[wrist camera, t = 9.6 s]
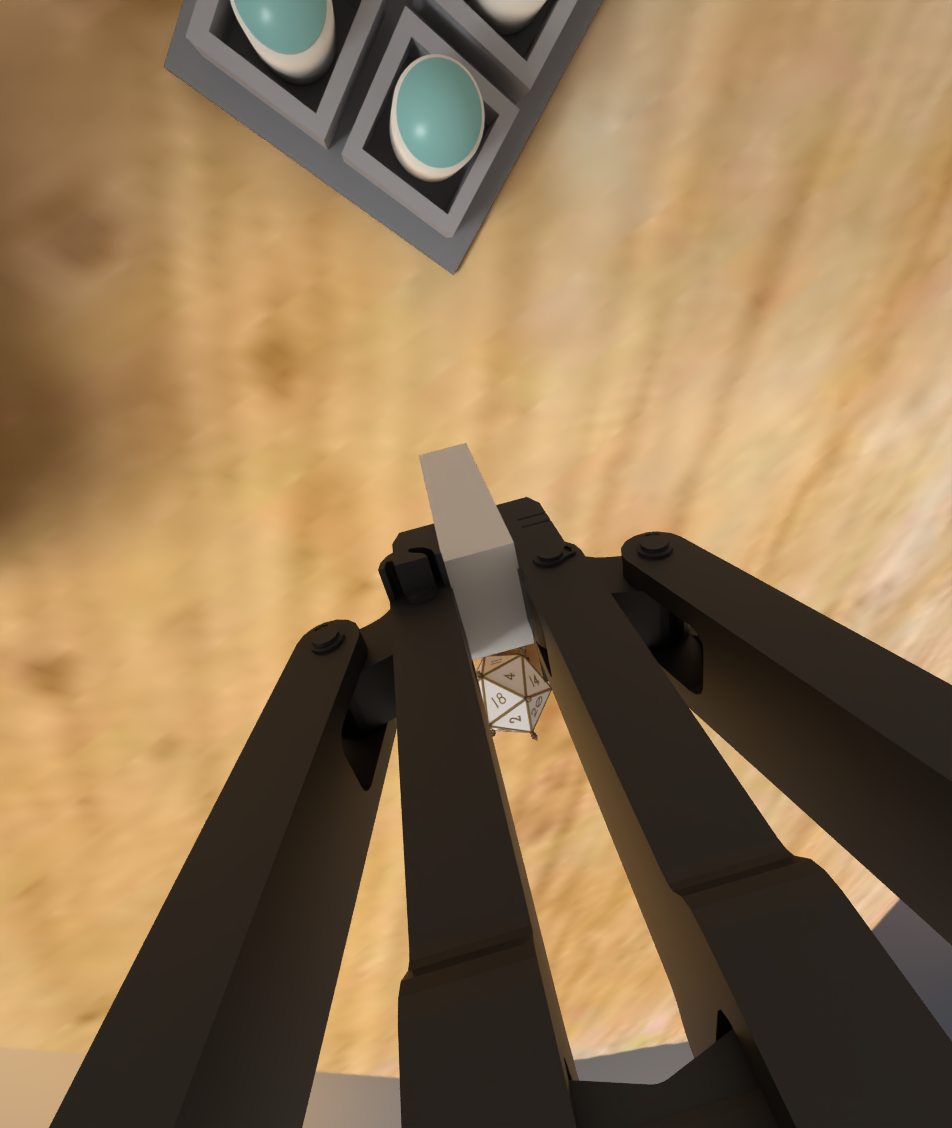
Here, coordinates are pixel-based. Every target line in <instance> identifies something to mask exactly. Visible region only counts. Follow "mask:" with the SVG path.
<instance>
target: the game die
mask: <svg viewBox="0 0 952 1128" xmlns="http://www.w3.org/2000/svg"><path fill="white" fill-rule="evenodd" d="M525 652H526V647H525V646H524V647H523V648H521V651H520V654H507V655H490V656H486V657H483V659H482V661H481V663H480V665H479V667H478V669H477V671H476V674H477V678H478V682H479V686H480V690H481V694H482V698H483V702H484V706H485V710H486V714H487V718H488V722H489V726H490V729H492V730H491V734H492V737H493V736H495V733H496V732H495V731H505V732H522V733H531V737H532V739H534V740H536V741H538V740H537V735H536V733H534V728H535V726H536V724H537V722H538V719H539V717H540V715H541V713H542V710H543V708H544V706H545V704H546V702H547V699H548V697H549V695H550V693H551V690H552V688H551V686H550V684H549V683H548V682H544V679H543V676H542V675H541V674H540V673H539V672H538V671H537V670H536V669H535V667H534V666H533V665H532V664H531V663H530V661H529V658H526V657H525V656H524V654H525Z"/></svg>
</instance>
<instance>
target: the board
mask: <svg viewBox="0 0 952 1128" xmlns="http://www.w3.org/2000/svg"><path fill="white" fill-rule="evenodd" d="M602 1H603V0H547V1H546V2H545V3H544V5H543V6H542V8H541V9H540V11H539V12H538V13H537V15H536V16H535V18H534V19H533V20H532V22H531V23H530V24H529V25H528V26H527V27H525V28H524V29H523V30H521V31H519V32H518V33H515V34H511V35H500V34H497V33H496V32H495V31H494V30H493V29H492V28H491V27H490V26H489V25H488V24H487V23H486V22H485V21H484V20H483V19H482V18H481V17H480V16H479V15H478V14H477V13H476V12H475V11H474V10H472V9H471V8H470V6H469V4H468V1H467V0H332V6H333V12H334V18H335V24H336V32H337V44H336V51H335V56H334V59H333V61H332V64H331V66H330V67H329V69H328V70H327V72H326V73H325V74H324V75H323V76H322V77H321V78H320V79H318V80H317V81H315V82H313V83H310V84H304V85H297V84H292V83H289V82H286V81H284V80H282V79H280V78H279V77H277V76H276V75H275V74H273V73H272V72H271V71H270V70H269V69H268V68H267V67H266V66H265V64H264V63H263V62H262V60H261V59H260V57H259V56H258V54H257V52H256V51H255V49H254V47H253V46H252V44H251V42H250V41H249V39H248V37H247V36H246V34H245V32H244V30H243V29H242V27H241V25H240V24H239V22H238V20H237V18H236V16H235V13H234V11H233V8H232V5H231V2H230V0H184V1H183V5H182V8H181V11H180V15H179V18H178V21H177V24H176V28H175V31H174V34H173V38H172V41H171V44H170V47H169V51H168V54H167V57H166V61H165V64H164V67H165V68H166V69H167V70H169V71H170V72H171V73H173V74H174V75H176V76H177V77H178V78H180V79H181V80H183V81H184V82H185V83H187V84H188V85H190V86H191V87H192V88H194V89H195V90H196V91H198V92H199V93H201V94H202V95H203V96H205V97H206V98H208V99H209V100H210V101H212V102H213V103H215V104H216V105H217V106H219V107H220V108H222V109H223V110H224V111H226V112H227V113H229V114H230V115H231V116H233V117H234V118H236V119H237V120H238V121H240V122H241V123H242V124H244V125H245V126H247V127H248V128H249V129H251V130H252V131H254V132H255V133H256V134H258V135H259V136H261V137H262V138H263V139H265V140H266V141H268V142H269V143H270V144H272V145H273V146H275V147H276V148H277V149H279V150H280V151H282V152H283V153H284V154H286V155H287V156H288V157H290V158H291V159H293V160H294V161H295V162H297V163H298V164H300V165H301V166H302V167H304V168H305V169H307V170H308V171H309V172H311V173H312V174H314V175H315V176H316V177H318V178H319V179H321V180H322V181H323V182H325V183H326V184H327V185H329V186H330V187H332V188H333V189H334V190H336V191H337V192H339V193H340V194H341V195H343V196H344V197H346V198H347V199H348V200H350V201H351V202H353V203H354V204H355V205H357V206H358V207H360V208H361V209H362V210H364V211H365V212H367V213H368V214H369V215H371V216H372V217H373V218H375V219H376V220H378V221H379V222H380V223H382V224H383V225H385V226H386V227H387V228H389V229H390V230H392V231H393V232H394V233H396V234H397V235H399V236H400V237H401V238H403V239H404V240H406V241H407V242H408V243H410V244H411V245H413V246H414V247H415V248H417V249H418V250H419V251H421V252H422V253H424V254H425V255H426V256H428V257H429V258H431V259H432V260H433V261H435V262H436V263H438V264H439V265H440V266H442V267H443V268H445V269H446V270H447V271H449V272H450V273H452V274H453V275H454V274H455V272H456V270H457V268H458V266H459V264H460V262H461V261H462V259H463V257H464V255H465V253H466V251H467V250H468V248H469V246H470V244H471V242H472V240H473V239H474V237H475V235H476V233H477V231H478V229H479V227H480V226H481V224H482V222H483V220H484V218H485V216H486V215H487V213H488V211H489V209H490V207H491V205H492V204H493V202H494V200H495V198H496V196H497V194H498V192H499V191H500V189H501V187H502V185H503V183H504V181H505V180H506V178H507V176H508V174H509V172H510V170H511V169H512V167H513V165H514V163H515V161H516V159H517V157H518V156H519V154H520V152H521V150H522V148H523V146H524V145H525V143H526V141H527V139H528V137H529V135H530V133H531V132H532V130H533V128H534V126H535V124H536V122H537V121H538V119H539V117H540V115H541V113H542V111H543V110H544V108H545V106H546V104H547V102H548V100H549V98H550V97H551V95H552V93H553V91H554V89H555V87H556V86H557V84H558V82H559V80H560V78H561V76H562V75H563V73H564V71H565V69H566V67H567V65H568V63H569V62H570V60H571V58H572V56H573V54H574V52H575V51H576V49H577V47H578V45H579V43H580V41H581V40H582V38H583V36H584V34H585V32H586V30H587V28H588V27H589V25H590V23H591V21H592V19H593V17H594V16H595V14H596V12H597V10H598V8H599V6H600V4H601V3H602ZM430 54H441V55H446V56H448V57H451V58H453V59H455V60H457V61H458V62H459V63H461V64H462V65H463V66H464V67H465V68H466V69H467V70H468V71H469V72H470V74H471V75H472V76H473V78H474V80H475V81H476V83H477V85H478V88H479V90H480V93H481V96H482V100H483V104H484V113H485V121H484V130H483V135H482V138H481V142H480V144H479V146H478V149H477V150H476V152H475V154H474V155H473V156H472V158H471V159H470V160H469V161H468V162H467V163H466V164H465V165H464V166H463V167H462V168H461V169H459V170H458V171H457V172H456V173H455V174H454V175H452V176H451V177H450V178H448V179H446V180H443V181H440V182H425V181H422V180H419V179H417V178H415V177H414V176H412V175H411V174H409V173H408V172H407V171H406V170H405V169H404V168H403V166H402V165H401V164H400V162H399V161H398V159H397V157H396V155H395V153H394V150H393V148H392V144H391V139H390V131H389V124H390V115H391V108H392V101H393V95H394V91H395V87H396V85H397V82H398V80H399V78H400V76H401V74H402V73H403V72H404V70H405V69H406V68H407V67H408V66H409V65H410V64H411V63H412V62H413V61H415V60H416V59H418V58H420V57H422V56H425V55H430Z"/></svg>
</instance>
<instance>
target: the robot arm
mask: <svg viewBox="0 0 952 1128" xmlns="http://www.w3.org/2000/svg"><path fill="white" fill-rule="evenodd" d="M419 458H420V463H421V467H422V472H423V476H424V481H425V485H426V490H427V494H428V498H429V503H430V507H431V512H432V516H433V521H434V524H431V525H427V526H423V527H420V528H416V529H412V530H409V531H405V532H401V533H399V534H398V536H397V538H396V539H395V541H394V542H393V544H392V546H393V553H391V554H390V555H388V556H387V557H386V558H385V559H384V560H383V561H382V562H381V563H380V566H379V569H378V571H379V574H380V577H381V579H382V582H383V585H384V587H385V590H386V593H387V595H388V598H389V601H390V610H389V611H388V612H387V613H386V614H385V615H384V616H382V617H381V618H380V619H378V620H377V621H375V622H373V623H371V624H369V625H367V626H365V627H363V628H361V629H359V628H358V626H357V625H356V623H354V622H352V621H349V620H334V621H330V622H325V623H323V624H321V625H318V626H316V627H315V628H313V629H312V630H310V631H309V632H308V633H306V634H305V635H304V636H303V637H302V638H301V640H300V641H299V642H298V644H297V645H296V647H295V649H294V651H293V653H292V655H291V657H290V659H289V661H288V662H287V664H286V666H285V668H284V670H283V672H282V674H281V676H280V678H279V680H278V682H277V684H276V686H275V688H274V690H273V692H272V694H271V696H270V698H269V700H268V702H267V703H266V705H265V707H264V709H263V711H262V713H261V715H260V717H259V719H258V721H257V723H256V725H255V727H254V729H253V731H252V733H251V735H250V737H249V739H248V741H247V742H246V744H245V746H244V748H243V750H242V752H241V754H240V756H239V758H238V760H237V762H236V764H235V766H234V768H233V770H232V772H231V774H230V776H229V778H228V780H227V781H226V783H225V785H224V787H223V789H222V791H221V793H220V795H219V797H218V799H217V801H216V803H215V805H214V807H213V809H212V811H211V813H210V815H209V817H208V819H207V820H206V822H205V824H204V826H203V828H202V830H201V832H200V834H199V836H198V838H197V840H196V842H195V844H194V846H193V848H192V850H191V852H190V854H189V856H188V858H187V859H186V861H185V863H184V865H183V867H182V869H181V871H180V873H179V875H178V877H177V879H176V881H175V883H174V885H173V887H172V889H171V891H170V893H169V895H168V897H167V898H166V900H165V902H164V904H163V906H162V908H161V910H160V912H159V914H158V916H157V918H156V920H155V922H154V924H153V926H152V928H151V930H150V932H149V934H148V936H147V937H146V939H145V941H144V943H143V945H142V947H141V949H140V951H139V953H138V955H137V957H136V959H135V961H134V963H133V965H132V967H131V969H130V971H129V973H128V975H127V977H126V978H125V980H124V982H123V984H122V986H121V988H120V990H119V992H118V994H117V996H116V998H115V1000H114V1002H113V1004H112V1006H111V1008H110V1010H109V1012H108V1014H107V1016H106V1017H105V1019H104V1021H103V1023H102V1025H101V1027H100V1029H99V1031H98V1033H97V1035H96V1037H95V1039H94V1041H93V1043H92V1045H91V1047H90V1049H89V1051H88V1053H87V1055H86V1056H85V1058H84V1060H83V1062H82V1064H81V1067H80V1068H79V1070H78V1072H77V1074H76V1076H75V1078H74V1080H73V1082H72V1084H71V1086H70V1088H69V1090H68V1092H67V1094H66V1095H65V1098H64V1100H63V1101H62V1104H61V1105H60V1107H59V1109H58V1111H57V1113H56V1115H55V1117H54V1119H53V1121H52V1123H51V1125H50V1127H49V1128H302V1126H303V1122H304V1118H305V1113H306V1109H307V1105H308V1100H309V1097H310V1092H311V1088H312V1083H313V1080H314V1075H315V1071H316V1067H317V1063H318V1059H319V1054H320V1050H321V1046H322V1042H323V1037H324V1033H325V1029H326V1025H327V1021H328V1016H329V1012H330V1008H331V1004H332V999H333V995H334V991H335V987H336V983H337V978H338V974H339V970H340V966H341V961H342V957H343V953H344V949H345V945H346V940H347V936H348V932H349V928H350V924H351V919H352V915H353V911H354V907H355V902H356V898H357V894H358V890H359V886H360V881H361V877H362V873H363V869H364V864H365V860H366V856H367V852H368V848H369V843H370V839H371V835H372V831H373V826H374V822H375V818H376V814H377V810H378V805H379V801H380V797H381V793H382V788H383V784H384V780H385V776H386V772H387V767H388V763H389V759H390V755H391V750H392V746H393V742H394V738H395V734H396V729H397V736H398V754H399V772H400V790H401V808H402V826H403V844H404V862H405V880H406V898H407V916H408V934H409V968H408V972H407V973H406V975H405V976H404V978H403V979H402V980H401V984H400V990H399V997H398V1040H399V1069H400V1097H401V1123H402V1124H401V1125H402V1128H952V1041H951V1040H950V1039H949V1037H948V1036H947V1035H946V1033H945V1032H944V1030H943V1029H942V1028H941V1026H940V1025H939V1023H938V1022H937V1021H936V1019H935V1018H934V1017H933V1015H932V1014H931V1012H930V1011H929V1010H928V1008H927V1007H926V1006H925V1004H924V1003H923V1002H922V1000H921V999H920V997H919V996H918V995H917V993H916V992H915V990H914V989H913V988H912V986H911V985H910V983H909V982H908V981H907V980H906V978H905V977H904V975H903V974H902V972H901V971H900V970H899V968H898V967H897V966H896V964H895V963H894V962H893V960H892V959H891V958H890V956H889V955H888V953H887V952H886V950H885V949H884V948H883V946H882V945H881V944H880V942H879V941H878V940H877V938H876V937H875V935H874V934H873V933H872V931H871V930H870V928H869V927H868V926H867V924H866V923H865V922H864V920H863V919H862V917H861V916H860V915H859V913H858V912H857V911H856V909H855V908H854V906H853V905H852V904H851V902H850V901H849V900H848V898H847V897H846V895H845V894H844V893H843V891H842V890H841V889H840V888H839V886H838V885H837V884H836V883H835V882H834V881H833V879H832V878H831V877H830V876H829V875H828V873H827V872H826V871H825V870H824V869H823V868H821V867H820V866H819V865H818V864H816V863H815V862H814V861H813V860H811V859H808V858H803V857H798V856H794V855H793V854H792V853H790V852H789V851H788V850H787V849H786V848H785V847H784V845H783V844H782V843H781V842H780V840H779V839H778V838H777V836H776V835H775V833H774V832H773V830H772V829H771V828H770V826H769V825H768V823H767V822H766V820H765V819H764V817H763V816H762V814H761V813H760V811H759V810H758V808H757V807H756V806H755V804H754V803H753V801H752V800H751V798H750V797H749V795H748V794H747V792H746V791H745V789H744V788H743V787H742V785H741V784H740V782H739V781H738V779H737V778H736V776H735V775H734V773H733V772H732V770H731V769H730V767H729V766H728V765H727V763H726V762H725V760H724V759H723V757H722V756H721V754H720V753H719V751H718V750H717V748H716V747H715V746H714V744H713V743H712V741H711V740H710V738H709V737H708V735H707V734H706V732H705V731H704V729H703V728H702V726H701V725H700V724H699V722H698V721H697V719H696V718H695V716H694V715H693V713H692V712H691V710H692V711H693V712H694V713H695V714H697V715H698V716H699V717H700V718H701V719H702V720H703V721H704V722H705V723H706V724H708V725H709V726H710V727H711V728H712V729H713V730H714V731H715V732H716V733H718V734H719V735H720V736H721V737H722V738H723V739H724V740H725V741H726V742H727V743H729V744H730V745H731V746H732V747H733V748H734V749H735V750H736V751H737V752H739V753H740V754H741V755H742V756H743V757H744V758H745V759H746V760H747V761H748V762H750V763H751V764H752V765H753V766H754V767H755V768H756V769H757V770H758V771H760V772H761V773H762V774H763V775H764V776H765V777H766V778H767V779H768V780H769V781H771V782H772V783H773V784H774V785H775V786H776V787H777V788H778V789H779V790H781V791H782V792H783V793H784V794H785V795H786V796H787V797H788V798H789V799H791V800H792V801H793V802H794V803H795V804H796V805H797V806H798V807H799V808H800V809H802V810H803V811H804V812H805V813H806V814H807V815H808V816H809V817H810V818H812V819H813V820H814V821H815V822H816V823H817V824H818V825H819V826H820V827H821V828H823V829H824V830H825V831H826V832H827V833H828V834H829V835H830V836H831V837H833V838H834V839H835V840H836V841H837V842H838V843H839V844H840V845H841V846H842V847H844V848H845V849H846V850H847V851H848V852H849V853H850V854H851V855H852V856H854V857H855V858H856V859H857V860H858V861H859V862H860V863H861V864H862V865H863V866H865V867H866V868H867V869H868V870H869V871H870V872H871V873H872V874H873V875H875V876H876V877H877V878H878V879H879V880H880V881H881V882H882V883H883V884H884V885H886V886H887V887H888V888H889V889H890V890H891V891H892V892H893V893H894V894H896V895H897V896H898V897H899V898H900V899H901V900H902V901H903V902H904V903H905V904H907V905H908V906H909V907H910V908H911V909H912V910H913V911H914V912H916V913H917V914H918V915H919V916H920V917H921V918H922V919H923V920H924V921H926V922H927V923H928V924H929V925H930V926H931V927H932V928H933V929H934V930H936V932H938V933H939V934H940V935H941V936H942V937H943V938H944V939H946V941H947V942H949V943H950V944H951V945H952V685H951V684H949V683H947V682H945V681H943V680H941V679H940V678H938V677H936V676H934V675H932V674H930V673H929V672H927V671H925V670H923V669H921V668H920V667H918V666H916V665H914V664H912V663H910V662H909V661H907V660H905V659H903V658H901V657H899V656H898V655H896V654H894V653H892V652H890V651H889V650H887V649H885V648H883V647H881V646H879V645H878V644H876V643H874V642H872V641H870V640H868V639H867V638H865V637H863V636H861V635H859V634H858V633H856V632H854V631H852V630H850V629H848V628H847V627H845V626H843V625H841V624H839V623H837V622H836V621H834V620H832V619H830V618H828V617H826V616H825V615H823V614H821V613H819V612H817V611H816V610H814V609H812V608H810V607H808V606H806V605H805V604H803V603H801V602H799V601H797V600H795V599H794V598H792V597H790V596H788V595H786V594H785V593H783V592H781V591H779V590H777V589H775V588H774V587H772V586H770V585H768V584H766V583H764V582H763V581H761V580H759V579H757V578H755V577H754V576H752V575H750V574H748V573H746V572H744V571H743V570H741V569H739V568H737V567H735V566H733V565H732V564H730V563H728V562H726V561H724V560H722V559H721V558H719V557H717V556H715V555H713V554H712V553H710V552H708V551H706V550H704V549H702V548H701V547H699V546H697V545H695V544H693V543H691V542H690V541H688V540H686V539H684V538H682V537H680V536H677V535H675V534H672V533H666V532H647V533H643V534H640V535H636V536H634V537H632V538H630V539H629V540H627V541H626V542H625V543H624V544H623V546H622V547H621V553H622V556H617V557H602V558H594V557H586V556H585V555H584V554H583V552H582V551H581V549H579V548H578V547H577V546H576V545H574V544H571V543H568V542H565V541H564V540H563V538H562V537H561V535H560V534H559V532H558V531H557V529H556V528H555V526H554V525H553V523H552V521H550V518H549V517H548V515H547V514H546V513H545V511H544V509H543V508H542V506H541V505H540V503H539V502H536V501H534V500H532V499H530V498H528V497H525V498H521V499H518V500H514V501H510V502H507V503H503V504H499V505H496V504H495V502H494V500H493V498H492V496H491V494H490V492H489V490H488V488H487V486H486V484H485V481H484V479H483V477H482V475H481V473H480V471H479V469H478V467H477V465H476V463H475V461H474V459H473V456H472V454H471V452H470V450H469V448H468V446H467V444H466V443H464V444H461V445H457V446H453V447H449V448H446V449H442V450H438V451H434V452H431V453H427V454H423V455H419ZM532 632H533V634H534V637H535V639H536V644H537V649H538V654H539V659H540V664H541V669H542V674H543V679H544V682H547V681H549V683H550V686H551V688H552V690H553V693H554V695H555V698H556V700H557V703H558V705H559V708H560V710H561V713H562V715H563V718H564V720H565V723H566V725H567V728H568V730H569V733H570V735H571V738H572V740H573V743H574V745H575V748H576V750H577V753H578V755H579V758H580V760H581V763H582V765H583V767H584V770H585V772H586V775H587V777H588V780H589V782H590V785H591V787H592V790H593V792H594V795H595V797H596V800H597V802H598V805H599V807H600V810H601V812H602V815H603V817H604V820H605V822H606V825H607V827H608V830H609V832H610V835H611V837H612V840H613V842H614V844H615V847H616V849H617V852H618V854H619V857H620V859H621V862H622V864H623V867H624V869H625V872H626V874H627V877H628V879H629V882H630V884H631V887H632V889H633V892H634V894H635V897H636V899H637V902H638V904H639V907H640V909H641V912H642V914H643V917H644V919H645V921H646V924H647V926H648V929H649V931H650V934H651V936H652V939H653V941H654V944H655V946H656V949H657V951H658V954H659V956H660V959H661V961H662V964H663V966H664V969H665V971H666V974H667V976H668V979H669V981H670V984H671V987H672V989H673V992H674V995H675V998H676V1001H677V1005H678V1008H679V1012H680V1015H681V1019H682V1023H683V1026H684V1030H685V1033H686V1036H687V1039H688V1042H689V1045H690V1048H691V1050H692V1053H693V1056H694V1058H695V1059H693V1060H692V1061H691V1062H689V1063H688V1064H687V1065H686V1066H684V1067H683V1068H682V1069H680V1070H679V1071H678V1072H677V1073H675V1074H674V1075H673V1076H671V1077H670V1078H669V1079H667V1080H666V1081H664V1082H662V1083H659V1084H654V1085H647V1084H629V1083H610V1082H592V1081H579V1079H578V1075H577V1071H576V1068H575V1064H574V1060H573V1056H572V1053H571V1049H570V1045H569V1042H568V1038H567V1034H566V1031H565V1027H564V1023H563V1019H562V1015H561V1011H560V1007H559V1003H558V999H557V995H556V991H555V987H554V983H553V979H552V975H551V971H550V967H549V963H548V959H547V955H546V951H545V947H544V943H543V939H542V935H541V931H540V927H539V923H538V919H537V915H536V911H535V907H534V903H533V899H532V895H531V891H530V887H529V883H528V879H527V875H526V871H525V867H524V863H523V859H522V855H521V851H520V847H519V843H518V838H517V834H516V830H515V826H514V822H513V818H512V814H511V810H510V806H509V802H508V798H507V794H506V790H505V786H504V782H503V778H502V774H501V770H500V766H499V762H498V758H497V754H496V750H495V746H494V742H493V738H492V734H491V730H490V726H489V722H488V718H487V714H486V710H485V706H484V702H483V698H482V694H481V690H480V686H479V682H478V678H477V674H476V671H475V667H474V664H473V660H475V659H479V658H482V657H486V656H490V655H493V654H497V653H500V652H504V651H508V650H511V649H515V648H518V647H522V646H525V645H529V644H533V643H534V639H533V634H532ZM689 708H690V709H691V710H690V709H689Z"/></svg>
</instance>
